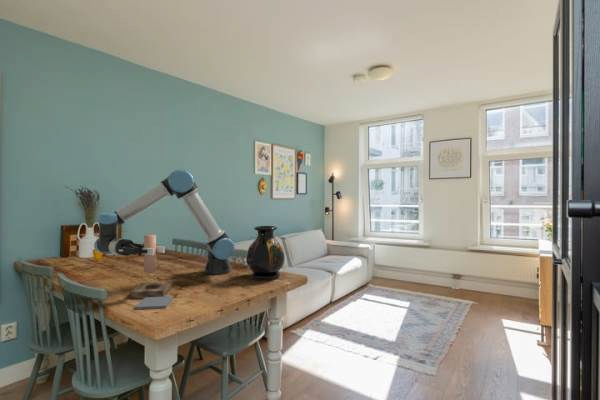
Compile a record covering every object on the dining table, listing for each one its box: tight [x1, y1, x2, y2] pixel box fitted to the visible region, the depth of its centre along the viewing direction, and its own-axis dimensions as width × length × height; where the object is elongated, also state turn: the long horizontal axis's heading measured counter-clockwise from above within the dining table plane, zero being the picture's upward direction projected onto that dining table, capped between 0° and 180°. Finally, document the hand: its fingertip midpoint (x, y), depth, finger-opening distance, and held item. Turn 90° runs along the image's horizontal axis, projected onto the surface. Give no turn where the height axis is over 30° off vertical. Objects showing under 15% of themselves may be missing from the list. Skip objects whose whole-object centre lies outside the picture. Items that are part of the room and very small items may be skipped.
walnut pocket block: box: [129, 281, 173, 299], centre depth 147 cm, size 14×14×3 cm
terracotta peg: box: [143, 234, 157, 273], centre depth 142 cm, size 5×5×16 cm
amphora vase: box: [245, 225, 286, 281], centre depth 177 cm, size 22×22×28 cm
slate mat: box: [134, 295, 175, 310], centre depth 133 cm, size 12×12×1 cm
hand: (158, 250), depth 139 cm, fingers closed on terracotta peg, 5 cm apart
